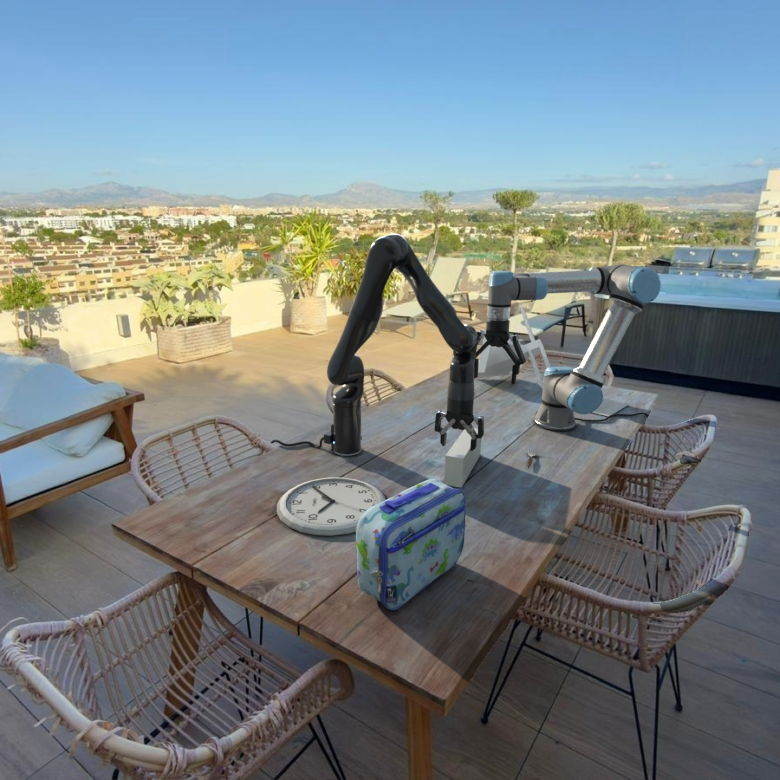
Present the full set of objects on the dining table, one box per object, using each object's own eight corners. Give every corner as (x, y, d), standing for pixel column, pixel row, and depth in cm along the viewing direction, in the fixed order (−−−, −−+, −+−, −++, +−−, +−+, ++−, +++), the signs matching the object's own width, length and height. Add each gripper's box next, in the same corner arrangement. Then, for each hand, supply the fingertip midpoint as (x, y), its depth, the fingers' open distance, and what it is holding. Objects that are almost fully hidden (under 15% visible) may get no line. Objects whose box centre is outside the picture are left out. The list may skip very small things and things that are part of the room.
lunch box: (385, 624, 100) (387, 528, 94) (349, 596, 108) (348, 506, 101) (468, 566, 118) (474, 482, 112) (432, 545, 125) (436, 466, 119)
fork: (523, 469, 166) (524, 463, 165) (529, 450, 180) (529, 445, 179) (532, 470, 165) (532, 464, 164) (536, 451, 179) (537, 446, 179)
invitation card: (608, 416, 214) (573, 407, 224) (608, 416, 214) (573, 408, 224) (628, 404, 229) (594, 396, 238) (628, 405, 229) (594, 397, 238)
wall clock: (392, 527, 129) (268, 531, 127) (391, 533, 130) (269, 537, 127) (383, 473, 158) (282, 475, 155) (383, 478, 158) (282, 480, 156)
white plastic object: (490, 420, 264) (470, 397, 239) (471, 347, 286) (451, 319, 261) (562, 396, 252) (549, 369, 227) (536, 322, 274) (521, 290, 249)
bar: (464, 452, 178) (466, 426, 175) (480, 455, 176) (482, 429, 173) (443, 484, 156) (445, 455, 153) (461, 487, 154) (463, 458, 151)
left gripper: (432, 396, 149) (431, 448, 154) (482, 402, 144) (479, 456, 148) (440, 389, 156) (438, 439, 160) (488, 394, 150) (484, 446, 155)
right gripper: (458, 317, 176) (456, 377, 182) (532, 324, 164) (526, 388, 170) (467, 314, 182) (464, 372, 188) (538, 320, 170) (533, 383, 176)
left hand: (458, 447), depth 154 cm, fingers open, 8 cm apart
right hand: (494, 380), depth 179 cm, fingers open, 13 cm apart
